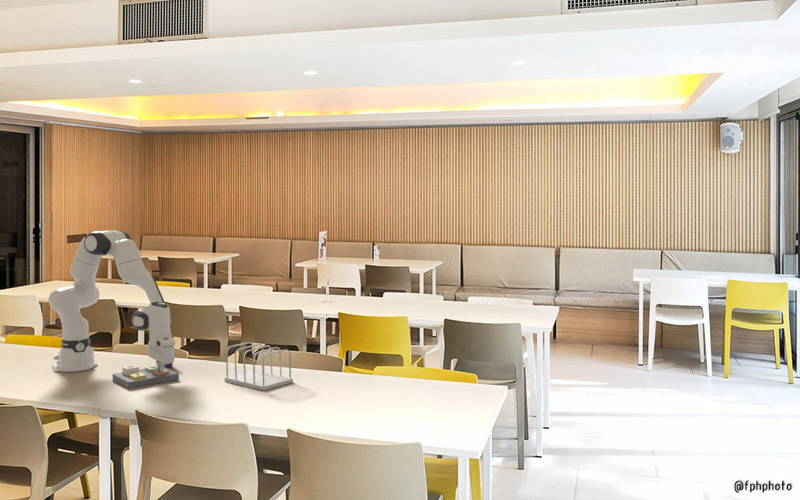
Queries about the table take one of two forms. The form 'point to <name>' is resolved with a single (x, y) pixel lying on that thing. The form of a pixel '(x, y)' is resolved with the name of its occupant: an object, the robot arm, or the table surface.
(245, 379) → the file sorter
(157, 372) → the terracotta key
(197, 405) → the table surface
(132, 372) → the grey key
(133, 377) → the ochre key
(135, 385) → the keypad base
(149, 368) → the sage key
